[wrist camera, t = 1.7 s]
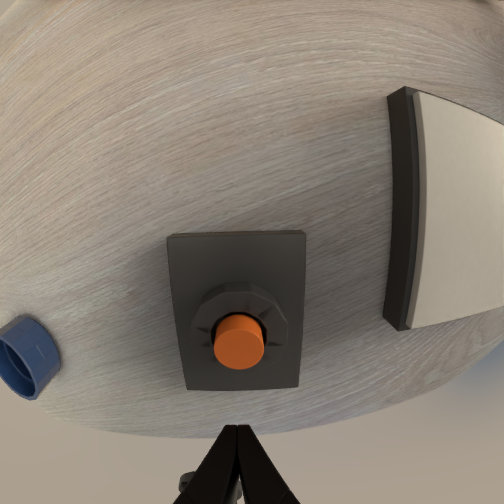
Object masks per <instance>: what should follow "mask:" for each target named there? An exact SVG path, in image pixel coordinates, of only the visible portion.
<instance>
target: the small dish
mask: <svg viewBox="0 0 504 504" xmlns="http://www.w3.org/2000/svg"><path fill="white" fill-rule="evenodd" d="M59 370H60V358H59V355H58V351H57V348H56V346H55V343H54V342H53V340H52V338H51V337H50V335H49V334H48V332H47V331H46V330H45V329H44V328H43V327H42V326H41V325H40V324H39V323H37V322H36V321H34V320H32V319H31V318H29V317H26V316H18V317H16V318H15V319H13V320H12V321H10V322H9V323H8V324H6V325H5V326H3V327H2V328H0V377H1V378H2V380H3V381H4V382H5V383H6V384H7V385H8V386H9V387H10V389H12V390H13V391H14V392H15V393H17V394H18V395H19V396H21V397H23V398H25V399H27V400H36V399H37V398H38V397H39V396H40V394H41V393H42V392H43V391H44V390H45V388H46V387H47V386H48V385H49V384H50V382H51V381H52V380H53V379H54V378H55V377H56V375H57V374H58V372H59Z"/></svg>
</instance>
